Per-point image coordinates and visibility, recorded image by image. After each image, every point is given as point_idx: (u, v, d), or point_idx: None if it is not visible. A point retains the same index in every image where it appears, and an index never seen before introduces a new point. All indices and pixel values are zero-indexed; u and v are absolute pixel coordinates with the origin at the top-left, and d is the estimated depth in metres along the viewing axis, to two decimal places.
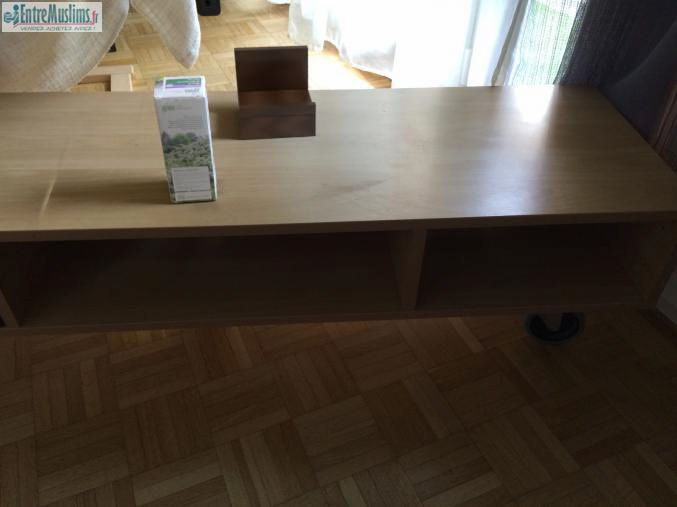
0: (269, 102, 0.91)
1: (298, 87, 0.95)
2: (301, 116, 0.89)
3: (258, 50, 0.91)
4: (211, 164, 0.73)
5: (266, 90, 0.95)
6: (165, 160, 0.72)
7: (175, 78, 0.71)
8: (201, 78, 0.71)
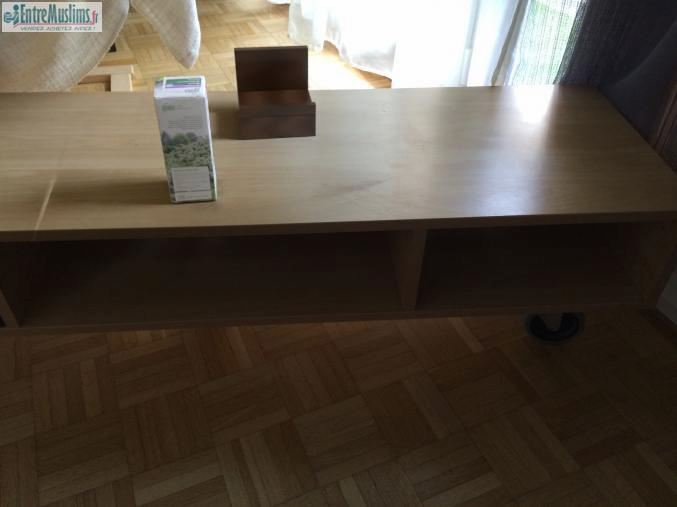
0: (269, 102, 0.91)
1: (298, 87, 0.95)
2: (301, 116, 0.89)
3: (258, 50, 0.91)
4: (211, 164, 0.73)
5: (266, 90, 0.95)
6: (165, 160, 0.72)
7: (175, 78, 0.71)
8: (201, 78, 0.71)
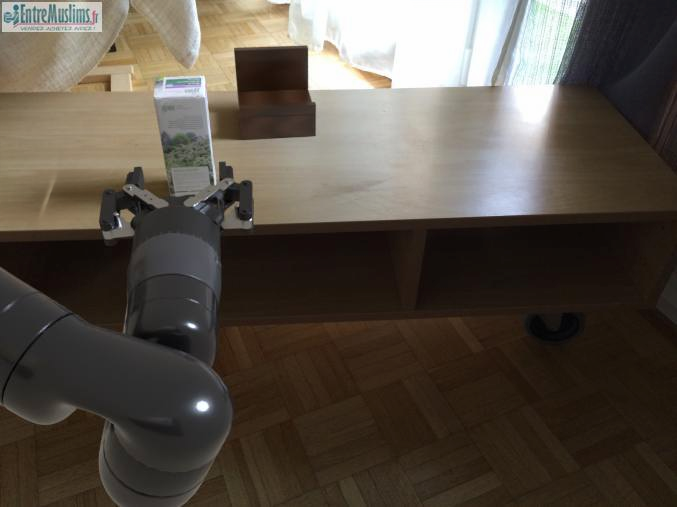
0: (269, 102, 0.91)
1: (298, 87, 0.95)
2: (301, 116, 0.89)
3: (258, 50, 0.91)
4: (211, 164, 0.73)
5: (266, 90, 0.95)
6: (165, 160, 0.72)
7: (175, 78, 0.71)
8: (201, 78, 0.71)
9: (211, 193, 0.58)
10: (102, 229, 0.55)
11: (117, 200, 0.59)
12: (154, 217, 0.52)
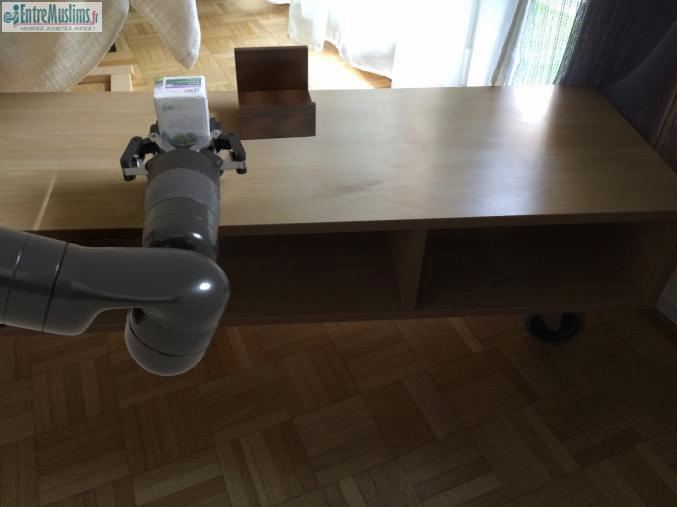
0: (269, 102, 0.91)
1: (298, 87, 0.95)
2: (301, 116, 0.89)
3: (258, 50, 0.91)
4: None
5: (266, 90, 0.95)
6: None
7: (175, 78, 0.71)
8: (201, 78, 0.71)
9: (209, 141, 0.69)
10: (121, 166, 0.66)
11: (143, 145, 0.70)
12: (165, 157, 0.63)
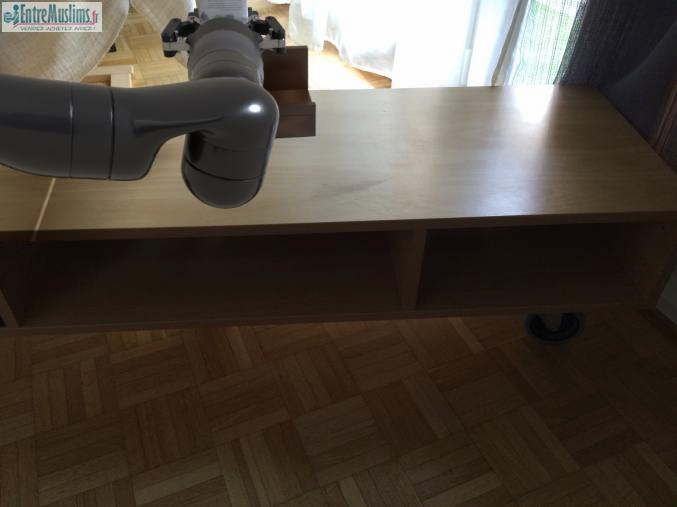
0: None
1: (298, 87, 0.95)
2: (301, 116, 0.89)
3: None
4: None
5: None
6: None
7: None
8: None
9: (248, 21, 0.69)
10: (162, 40, 0.67)
11: (182, 27, 0.71)
12: (208, 24, 0.63)
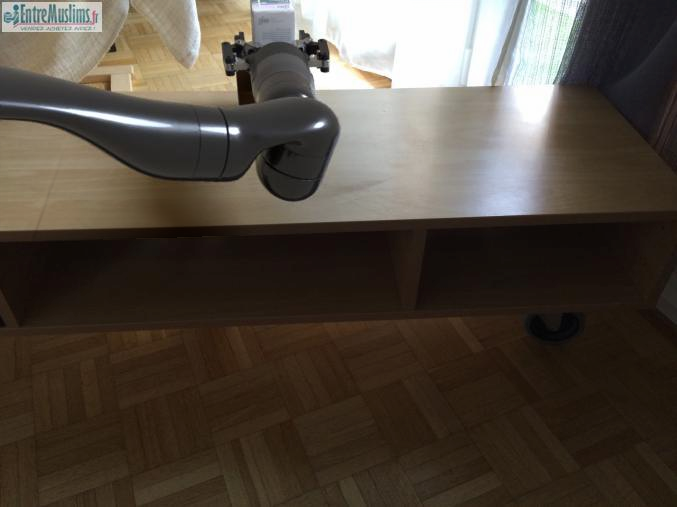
0: None
1: None
2: None
3: None
4: None
5: None
6: None
7: None
8: None
9: (300, 43, 0.81)
10: (226, 62, 0.78)
11: (231, 49, 0.82)
12: (268, 47, 0.75)
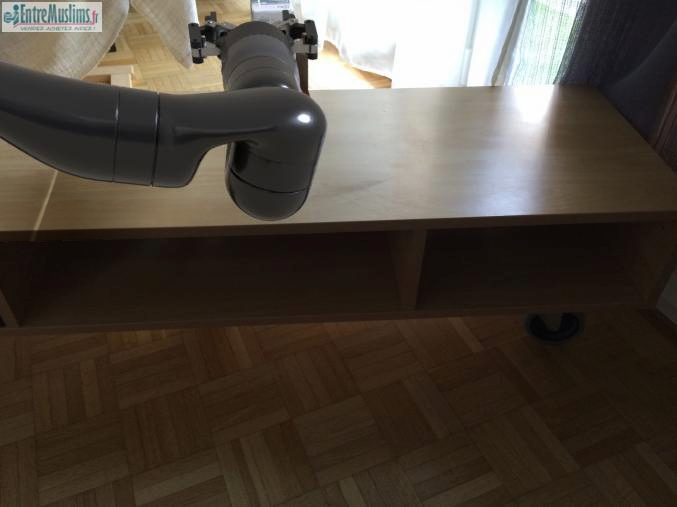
0: None
1: None
2: None
3: None
4: None
5: None
6: None
7: None
8: None
9: (282, 24, 0.68)
10: (192, 47, 0.65)
11: (200, 32, 0.68)
12: (242, 28, 0.61)
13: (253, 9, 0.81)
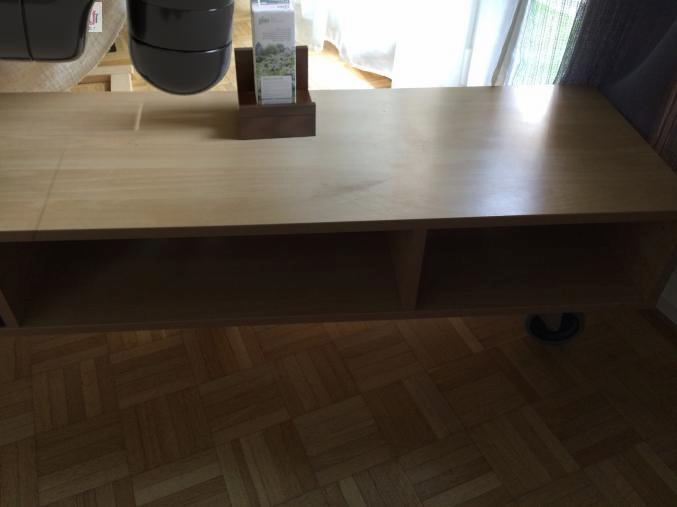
0: None
1: (298, 87, 0.95)
2: (301, 116, 0.89)
3: None
4: (294, 74, 0.87)
5: None
6: (256, 69, 0.85)
7: None
8: None
9: None
10: None
11: None
12: None
13: (253, 9, 0.81)
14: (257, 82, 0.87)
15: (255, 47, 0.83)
